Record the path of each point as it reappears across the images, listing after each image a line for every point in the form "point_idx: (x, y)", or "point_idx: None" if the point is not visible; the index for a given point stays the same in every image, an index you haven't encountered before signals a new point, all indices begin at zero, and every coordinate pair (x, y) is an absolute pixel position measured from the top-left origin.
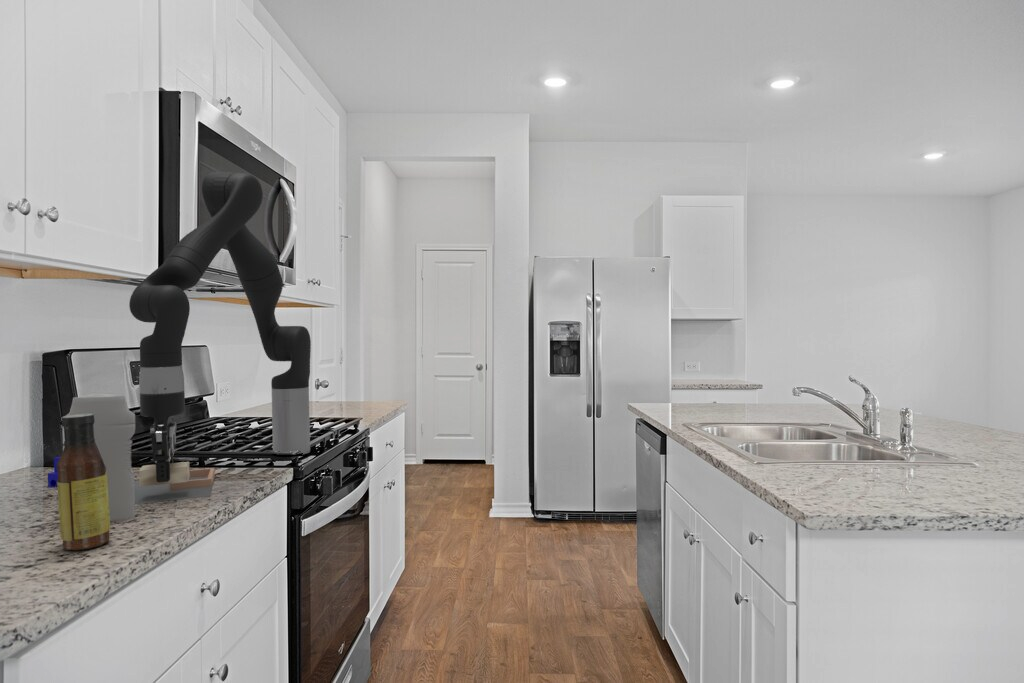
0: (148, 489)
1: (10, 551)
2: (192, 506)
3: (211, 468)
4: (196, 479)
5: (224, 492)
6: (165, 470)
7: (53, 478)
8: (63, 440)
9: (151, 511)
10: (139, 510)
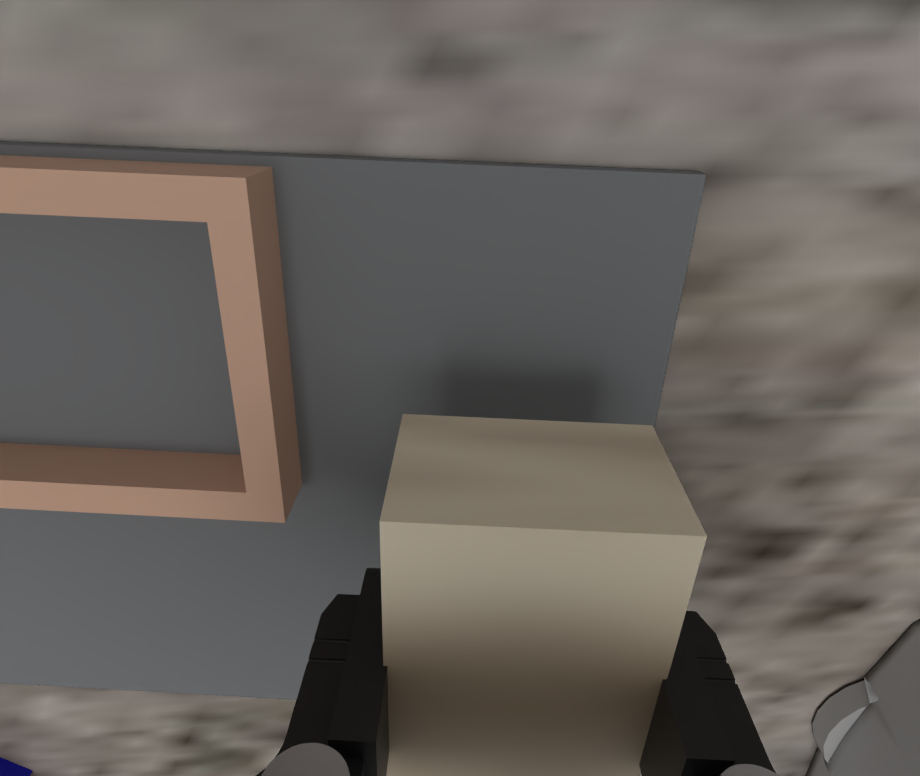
0: (224, 598)
1: None
2: (870, 310)
3: None
4: (225, 327)
5: (501, 29)
6: (734, 699)
7: None
8: None
9: (804, 543)
10: (724, 599)
